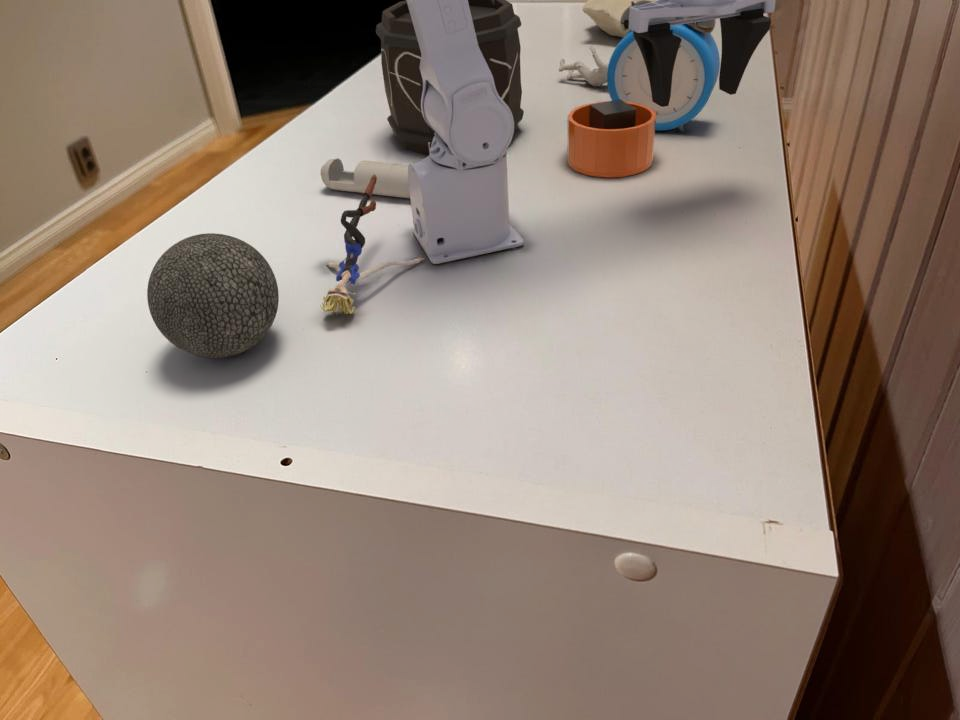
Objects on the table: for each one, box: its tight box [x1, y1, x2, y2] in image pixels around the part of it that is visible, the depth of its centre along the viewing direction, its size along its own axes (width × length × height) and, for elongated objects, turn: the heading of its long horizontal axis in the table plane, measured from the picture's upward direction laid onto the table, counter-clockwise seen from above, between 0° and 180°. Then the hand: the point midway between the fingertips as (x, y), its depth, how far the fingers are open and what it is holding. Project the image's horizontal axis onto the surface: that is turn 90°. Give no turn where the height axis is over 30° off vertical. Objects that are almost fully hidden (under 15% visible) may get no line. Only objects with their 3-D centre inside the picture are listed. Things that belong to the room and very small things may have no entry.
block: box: [589, 99, 636, 129], centre depth 91 cm, size 4×4×6 cm
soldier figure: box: [558, 45, 609, 87], centre depth 115 cm, size 8×5×12 cm
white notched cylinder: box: [320, 142, 430, 199], centre depth 86 cm, size 18×5×6 cm, turn 69°
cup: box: [566, 101, 656, 178], centre depth 91 cm, size 10×10×6 cm
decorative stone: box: [582, 0, 658, 39], centre depth 138 cm, size 23×9×15 cm
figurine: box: [302, 174, 425, 331], centre depth 72 cm, size 10×9×20 cm
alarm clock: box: [606, 0, 721, 133], centre depth 97 cm, size 13×6×15 cm, turn 69°
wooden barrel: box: [375, 0, 525, 156], centre depth 98 cm, size 18×18×16 cm
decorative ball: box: [146, 232, 280, 359], centre depth 62 cm, size 10×10×10 cm
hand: (694, 97), depth 78 cm, fingers open, 7 cm apart
